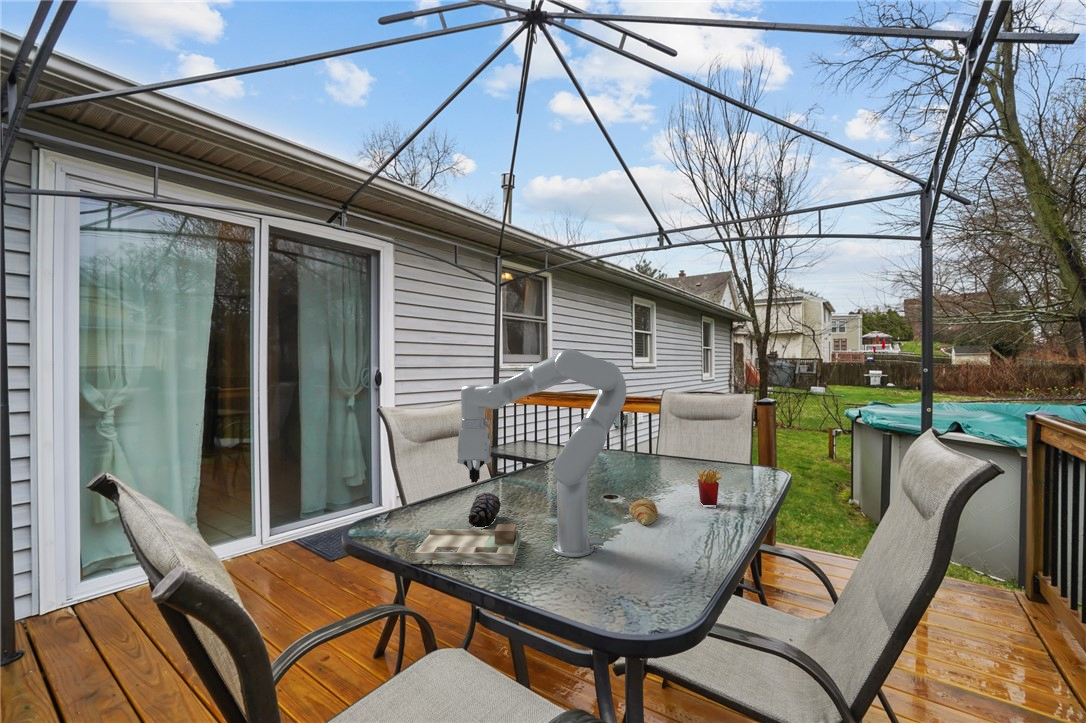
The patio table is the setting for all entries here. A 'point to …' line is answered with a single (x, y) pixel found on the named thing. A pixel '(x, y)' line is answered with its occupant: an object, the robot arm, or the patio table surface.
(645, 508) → the croissant
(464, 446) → the robot arm
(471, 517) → the pine cone
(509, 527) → the walnut block
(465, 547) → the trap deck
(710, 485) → the french fries
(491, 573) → the patio table surface
